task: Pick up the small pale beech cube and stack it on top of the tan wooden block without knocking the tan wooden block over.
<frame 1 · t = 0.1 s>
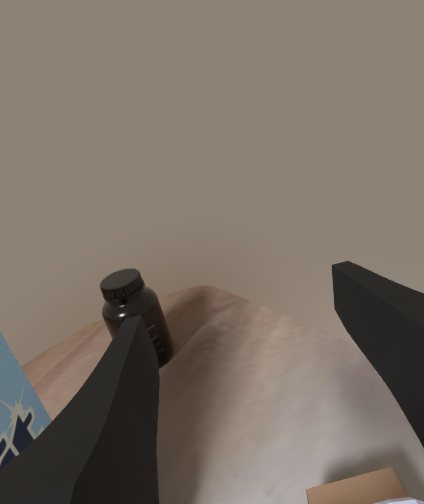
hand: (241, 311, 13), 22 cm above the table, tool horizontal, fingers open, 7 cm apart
supplement bottle: (150, 357, 46), on the table
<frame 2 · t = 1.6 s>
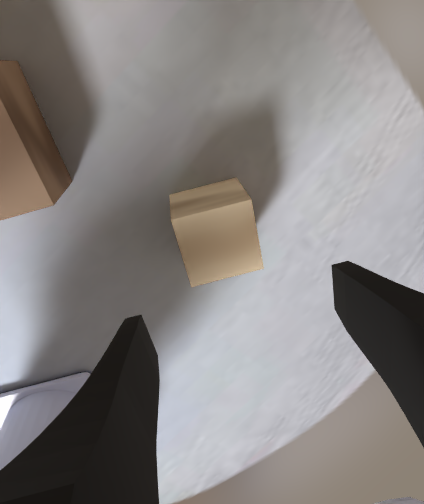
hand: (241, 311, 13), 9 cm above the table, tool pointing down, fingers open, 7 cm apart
beech cube: (210, 216, 21), on the table
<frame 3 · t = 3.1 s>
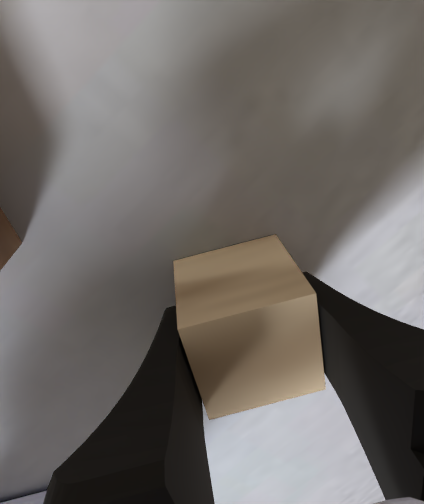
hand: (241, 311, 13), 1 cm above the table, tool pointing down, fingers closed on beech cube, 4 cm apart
beech cube: (234, 290, 14), on the table, touching gripper
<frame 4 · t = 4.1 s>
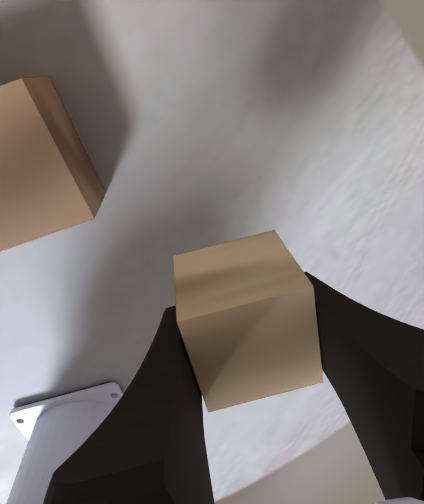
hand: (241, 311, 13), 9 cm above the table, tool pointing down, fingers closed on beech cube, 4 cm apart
beech cube: (233, 285, 15), point 7 cm above the table, touching gripper
tan wooden block: (26, 157, 18), on the table
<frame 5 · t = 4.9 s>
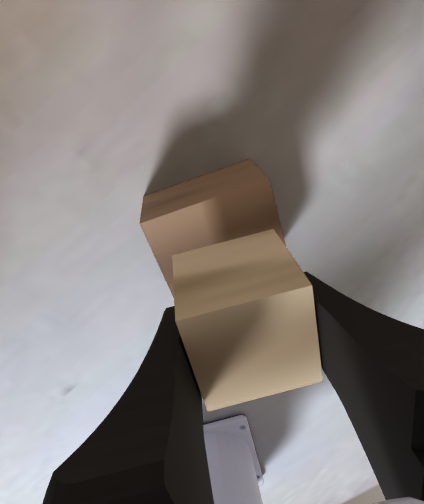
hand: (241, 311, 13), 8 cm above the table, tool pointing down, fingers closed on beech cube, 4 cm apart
beech cube: (233, 284, 14), point 6 cm above the table, touching gripper
tan wooden block: (212, 224, 20), on the table
when the fingers open (7 cm above the table, at t = 5.5 s): beech cube drops 1 cm, resting on tan wooden block.
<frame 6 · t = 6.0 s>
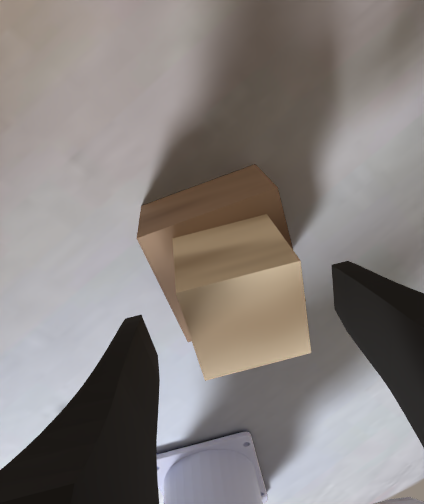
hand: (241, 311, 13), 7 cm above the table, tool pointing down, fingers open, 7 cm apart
beech cube: (229, 266, 15), point 4 cm above the table, touching tan wooden block
tan wooden block: (216, 234, 19), on the table, touching beech cube
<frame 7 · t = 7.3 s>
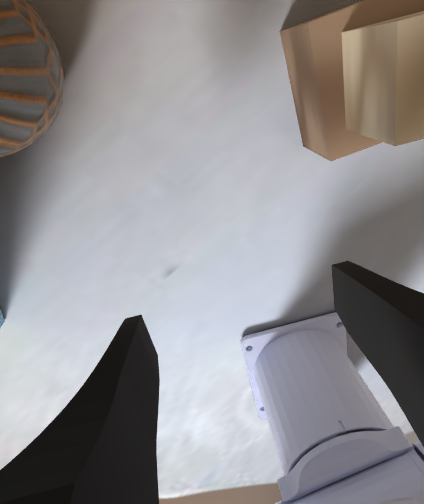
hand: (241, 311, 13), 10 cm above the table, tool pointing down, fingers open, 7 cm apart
vase: (4, 67, 17), on the table
beech cube: (387, 72, 16), point 4 cm above the table
tan wooden block: (343, 73, 19), on the table
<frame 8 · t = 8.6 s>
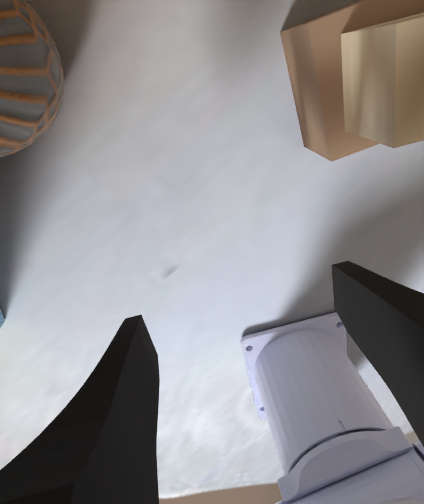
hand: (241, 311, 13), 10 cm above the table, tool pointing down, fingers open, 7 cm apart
vase: (4, 67, 17), on the table
beech cube: (386, 74, 16), point 4 cm above the table
tan wooden block: (343, 73, 19), on the table
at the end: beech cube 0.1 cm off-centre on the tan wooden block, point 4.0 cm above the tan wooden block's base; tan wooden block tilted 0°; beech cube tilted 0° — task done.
